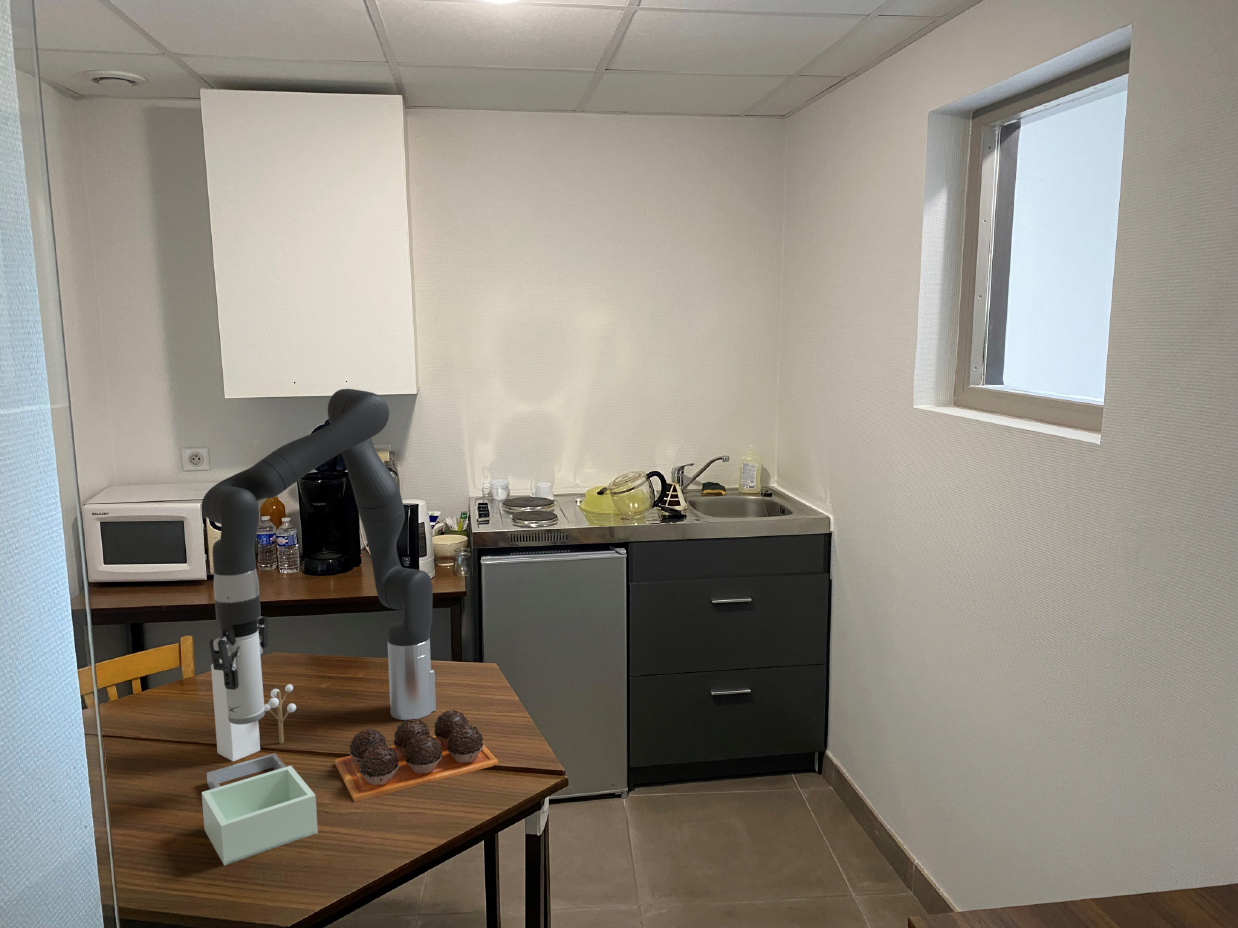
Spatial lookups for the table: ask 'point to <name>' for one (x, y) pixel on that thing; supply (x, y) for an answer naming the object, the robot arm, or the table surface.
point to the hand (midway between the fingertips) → (243, 680)
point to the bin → (259, 814)
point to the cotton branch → (280, 708)
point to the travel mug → (246, 677)
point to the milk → (231, 725)
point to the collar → (243, 769)
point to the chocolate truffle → (413, 756)
